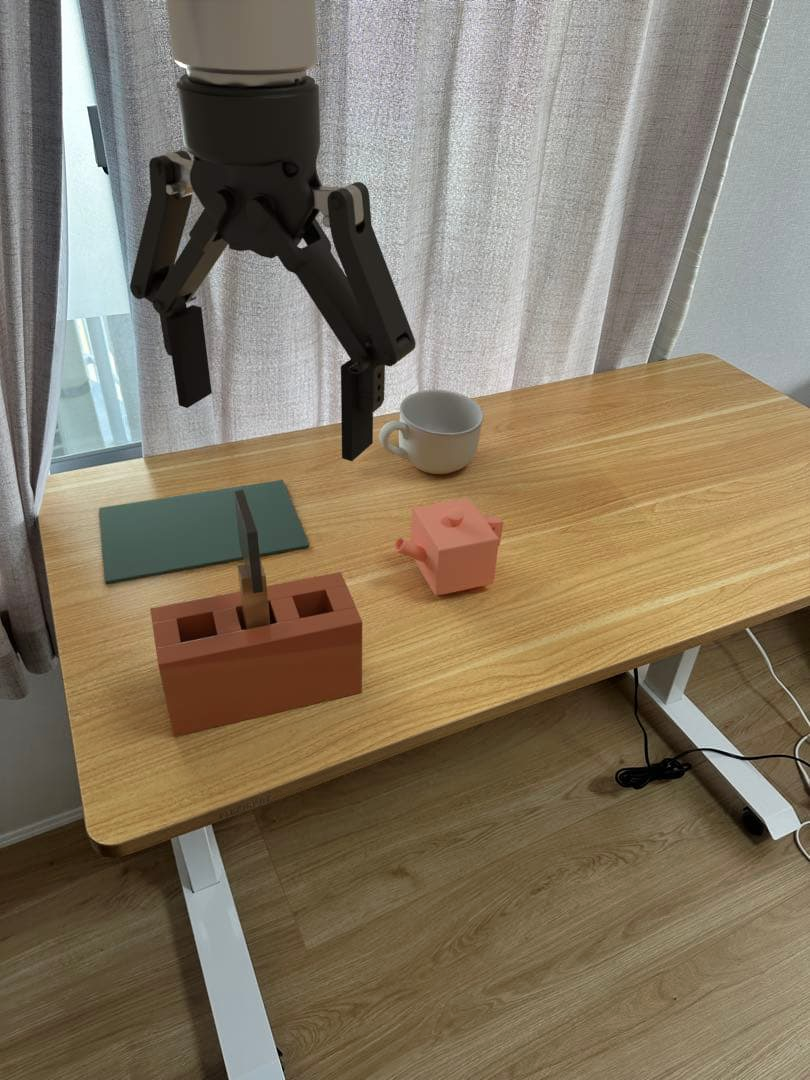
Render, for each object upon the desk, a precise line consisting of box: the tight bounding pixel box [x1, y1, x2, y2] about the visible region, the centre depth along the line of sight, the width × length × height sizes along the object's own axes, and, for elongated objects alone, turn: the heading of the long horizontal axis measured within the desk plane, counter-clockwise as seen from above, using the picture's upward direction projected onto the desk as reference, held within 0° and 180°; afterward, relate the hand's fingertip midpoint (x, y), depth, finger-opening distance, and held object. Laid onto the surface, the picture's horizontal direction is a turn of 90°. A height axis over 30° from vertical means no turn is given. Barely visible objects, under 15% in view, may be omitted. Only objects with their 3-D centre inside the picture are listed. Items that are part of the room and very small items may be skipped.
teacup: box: [378, 389, 485, 475], centre depth 104 cm, size 14×11×8 cm
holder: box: [149, 571, 363, 737], centre depth 72 cm, size 7×17×9 cm, turn 109°
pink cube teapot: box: [393, 497, 505, 597], centre depth 86 cm, size 8×12×8 cm, turn 110°
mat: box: [98, 479, 310, 585], centre depth 93 cm, size 22×14×1 cm, turn 109°
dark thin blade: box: [234, 489, 270, 630], centre depth 68 cm, size 2×6×20 cm, turn 19°
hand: (273, 424), depth 56 cm, fingers open, 13 cm apart
